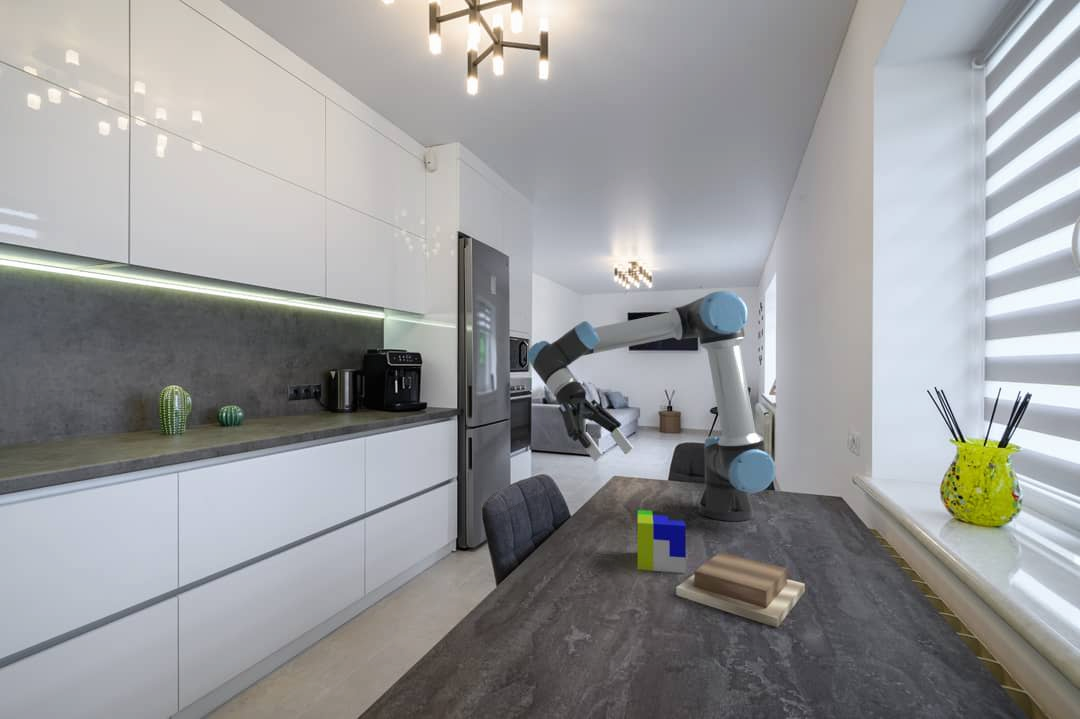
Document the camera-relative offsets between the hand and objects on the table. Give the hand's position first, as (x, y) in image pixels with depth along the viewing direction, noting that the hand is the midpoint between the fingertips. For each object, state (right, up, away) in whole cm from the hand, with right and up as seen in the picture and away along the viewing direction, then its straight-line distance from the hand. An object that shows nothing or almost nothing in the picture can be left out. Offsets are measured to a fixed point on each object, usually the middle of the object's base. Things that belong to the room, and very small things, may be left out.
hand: (614, 454), depth 120 cm
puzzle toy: (+9, -23, -10) cm, 26 cm away
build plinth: (+20, -22, -25) cm, 39 cm away
